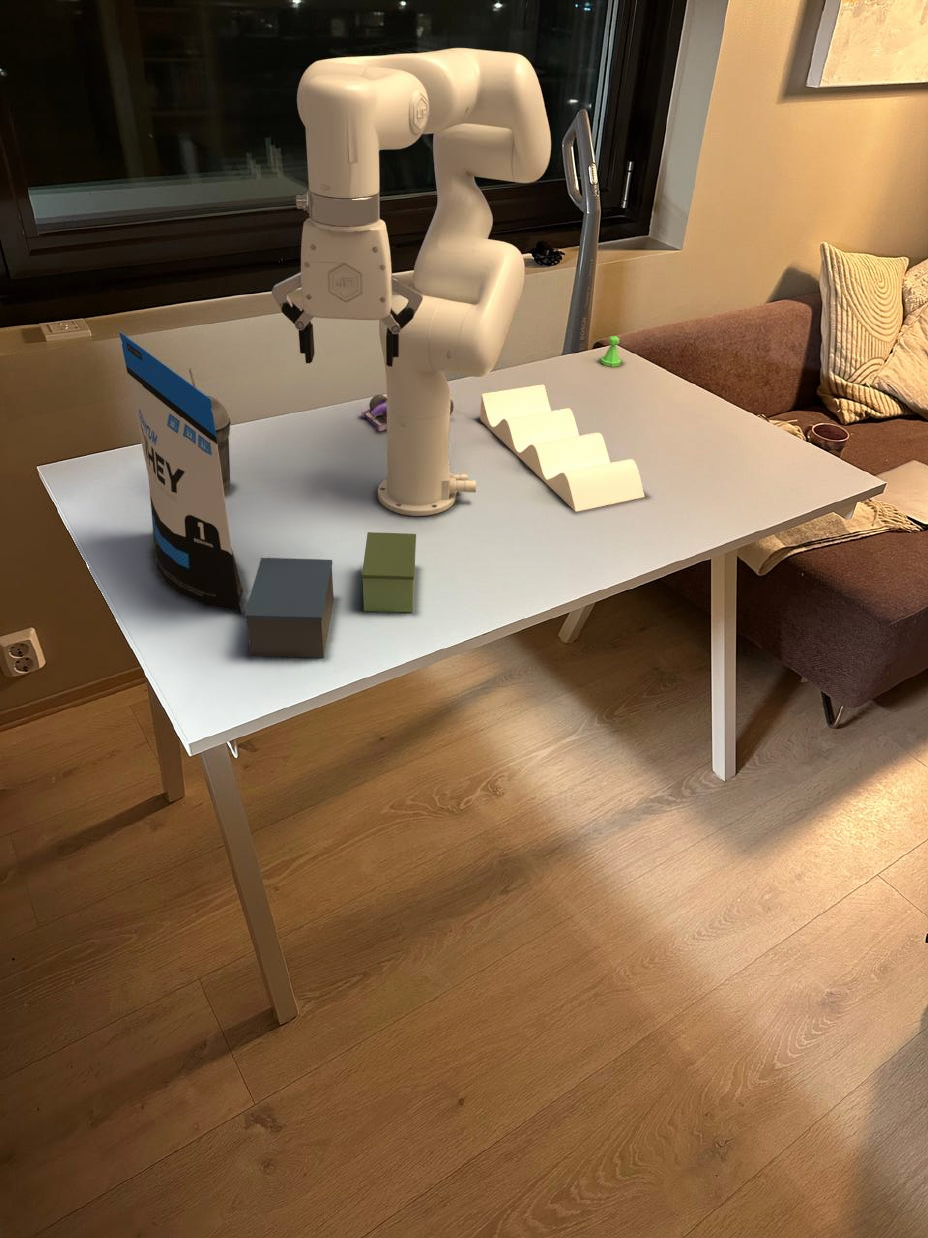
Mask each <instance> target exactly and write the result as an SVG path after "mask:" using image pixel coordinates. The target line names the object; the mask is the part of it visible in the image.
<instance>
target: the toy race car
mask: <svg viewBox="0 0 928 1238" xmlns="http://www.w3.org/2000/svg"><path fill="white" fill-rule="evenodd" d="M368 407H369V409H366V410H365V411H362V412H361V418H362V419H364V418H366V419H367V420H368V421H369V422H370V423H372V424H373V425H374V426H375V427H377V431H378V432H384V431H387V396H384V394H376V395H374V396H373V397H372V398H371V399H370V401H369V406H368ZM454 407H455V406H454V402H453V400H452V399H451V405H450V416H451V415H452V414H453V411H454ZM376 417H382V418H385V419H384V421H385V422H384V423H383V422H380V421H379V420H378V419H376Z"/></svg>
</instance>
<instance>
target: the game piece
mask: <svg viewBox="0 0 928 1238" xmlns="http://www.w3.org/2000/svg"><path fill="white" fill-rule="evenodd" d="M619 343H620V338H619V337H618V336H616V335H611V336H609V338H608V344H609V347H608V349H607V351H606V353H605V354H604V355H603V356H602V357H601V358H600V363H601V364H602V365H603V366H606V367H611V368H614V367H619V366H620V365H621V363H622V359H620V357H619V353H618V350H617V345H619Z"/></svg>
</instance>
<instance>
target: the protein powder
mask: <svg viewBox="0 0 928 1238" xmlns="http://www.w3.org/2000/svg"><path fill="white" fill-rule="evenodd" d="M118 334H119V339H120V341H121V348H122V355H123V358H124V363H125V364H124V365H125V368H126V373H127V379H128V384H129V388H130V393H131V394H130V395H131V399H132V404H133V408H134V413H135V418H136V423H137V427H138V433H139V437H140V443H141V447H142V451H143V457H144V462H145V466H146V471H147V478H148V487H149V500H150V511H151V513H150V514H151V523H152V525H151V526H152V535H153V536H152V537H153V547H154V556H155V564H156V570H157V572H158V573H159V575H160V576H161V578H162V580H163V581H164V583H165V584H166V585H167V586H169V587H170V588H171V589H173V590H174V591H176V592H177V593H178V594H179V595H181V596H183V597H186V598H188V599H191V600H193V601H195V602H198V603H200V604H203V605H205V606H207V607H212V608H213V607H214V608H219V609H225V610H226V609H227V610H231V611H237V612H238V613H239V614H240V615H242V610H241V604H240V603H241V600H242V597H243V593H244V590H243V585H242V582H241V578H240V574H239V569H238V566H237V562H236V558H235V554H234V551H233V548H232V543H231V535H230V528H229V527H230V526H229V520H228V513H227V504H226V498H225V495H224V489H223V481H222V474H221V467H220V460H219V453H218V446H217V438H216V431H215V424H214V417H213V413H212V410H211V407H212V403H211V399H210V398H209V397H207V396H208V395H206V394H205V393H203V392H202V391H201V390H200V389H198V387H197V388H195V387H194V386H193V384H192V383H190V382H189V381H187V380H186V379H184V378H183V377H182V376H180V375H179V374H178V373H177V372H175V371H173V370H172V368H170V367H168V366H167V365H166V364H165V363H163V362H162V361H161V360H159V359H158V358H157V357H155V356H153V354H151V353H149V352H148V351H147V350H146V349H144V348H143V347H141V346H140V345H139V344H137V343H136V342H135V341H133V339H131V338H129V337H128V336H126V335H125V334H124V333H123V332H121V331H119V332H118Z"/></svg>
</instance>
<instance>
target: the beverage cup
mask: <svg viewBox="0 0 928 1238" xmlns="http://www.w3.org/2000/svg"><path fill="white" fill-rule="evenodd" d="M188 372H189V377H190V379H191V385H193V386H194V387H195V388H197V389H198V385H197V382H196V377H195V374H194V370H193V367H188ZM206 396H207V397H209V398H210V399H211V403H212V407H211V410H212V413H213V417H214V424H215V431H216V438H217V446H218V453H219V460H220V467H221V474H222V481H223V489H224V496H225V495H227V494H228V493H230V491H231V463H230V461H231V460H230V459H231V458H230V433H231V419H230V417H229V413H228V410H227V408H226V407H225V405H224V404H223V403H222V402H221V401H220V400H218V399H217V398H215V397H213V396H211V395H206Z"/></svg>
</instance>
